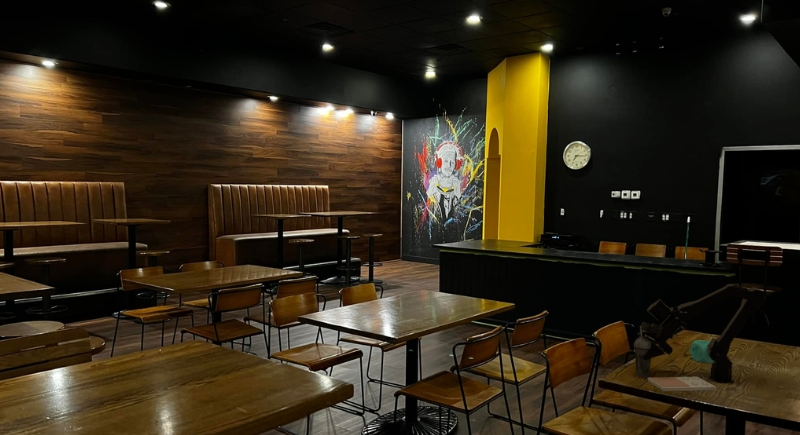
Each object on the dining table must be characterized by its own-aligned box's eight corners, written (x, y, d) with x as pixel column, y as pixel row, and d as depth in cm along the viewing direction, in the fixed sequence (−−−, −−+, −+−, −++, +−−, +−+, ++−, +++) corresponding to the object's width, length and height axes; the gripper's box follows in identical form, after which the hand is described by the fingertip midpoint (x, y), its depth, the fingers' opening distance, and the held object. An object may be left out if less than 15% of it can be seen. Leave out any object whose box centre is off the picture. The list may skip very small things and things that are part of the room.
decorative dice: (689, 358, 256) (689, 340, 256) (704, 357, 258) (704, 339, 258) (703, 363, 248) (703, 345, 248) (718, 362, 250) (718, 343, 250)
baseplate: (697, 379, 226) (697, 374, 226) (716, 390, 214) (716, 384, 214) (647, 380, 225) (647, 375, 225) (663, 391, 213) (663, 385, 213)
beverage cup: (654, 379, 227) (655, 328, 226) (634, 378, 228) (635, 327, 228) (650, 373, 234) (651, 324, 233) (631, 372, 235) (632, 323, 235)
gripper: (642, 310, 240) (615, 337, 240) (665, 320, 221) (636, 349, 221) (660, 329, 241) (634, 355, 240) (685, 340, 222) (656, 369, 222)
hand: (639, 356), depth 231 cm, fingers closed on beverage cup, 7 cm apart
